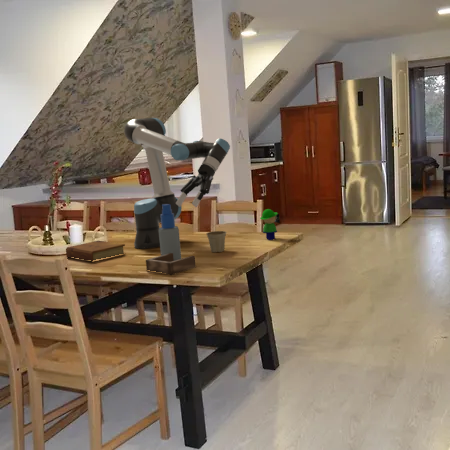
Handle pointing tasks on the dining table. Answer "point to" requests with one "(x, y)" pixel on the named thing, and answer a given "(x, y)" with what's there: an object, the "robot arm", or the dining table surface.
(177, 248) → the blue and grey bottle
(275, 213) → the toy
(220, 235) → the flower pot
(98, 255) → the diary
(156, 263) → the rest
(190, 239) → the dining table surface
